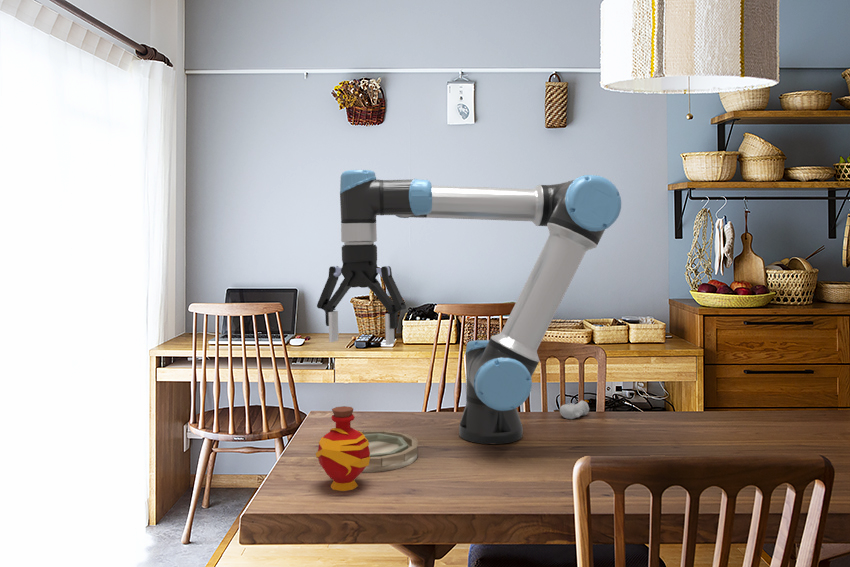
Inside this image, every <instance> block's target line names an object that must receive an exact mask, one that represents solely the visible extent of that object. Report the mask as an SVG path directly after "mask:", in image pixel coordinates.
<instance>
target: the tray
mask: <svg viewBox="0 0 850 567" xmlns="http://www.w3.org/2000/svg"><path fill="white" fill-rule="evenodd" d="M359 431H360V432H361V433H363V434H364V436H365V438H366V439H367V440H368V442H369V445H368V447H369V451H370V461H369V466H366V467H365V469H364V470H363V472H362V473H380V472H381V473H382V472H389V471H394V470H397V469H398V470H399V469H401V468H404V467H407V466H409V465H412V464H413V463H414V462H415V461H416V460H417V459H418V455H419V454H418V451H419V450H418V448H419V447H418V439H417V438H416V437H414V436H412V435H410V434H408V433H405V432H400V431H394V430H387V429H380V430H379V429H377V430H374V429H373V430H359Z"/></svg>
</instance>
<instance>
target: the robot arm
mask: <svg viewBox="0 0 850 567" xmlns="http://www.w3.org/2000/svg"><path fill="white" fill-rule="evenodd" d="M339 181H340V188H339V190H340V191H339V198H340V199H339V201H340V202H339V203H340V223H341V224H340V226H341V228H340V234H341V235H340V236H341V239H340V240H341V242H342V243H344V244H343V245H342V246H341V262H342V267H341V266H338V265H333V266H329V268H328V277H327V280H326V282H325V284H324V286H323V289H322V292H321V293H320V297H319V299H318V301H317V304H316V307H317V308H318V309H321V310H323V311H324V312H325V325H326V326H325V327H328V337H329V340H328V342H329V343H334V342H338V341H339V311H338V310H336V308H337V306H338V305H339V303H340V302H341V301H342V300H343V298H344V296H345V295H346V294H347V293H348V292H349V290H350V289H351V288H368V289H369V290H371V291H372V293H373V294H374V295H375V297H376V298H377V300H378V301H379V302H380V303H381V304H382V305H383V307H384V308H385V309H386V311H387V313H384V319H385V320H384V322H385V323H384V325H385V326H384V327H385V328H384V330H385V345H386V346H390V345H393V344H395V329H397V328H398V325H399V324H398V323H399V322H398V321H399V320H398V318H399V315H398V313H399V312H401V311H404V310H406V308H407V306H406V303H405V300H404V298H403V297H402V294H401V292H400V290H399V288H398V285H397V284H396V282H395V280H394V277H393V272H392V268H391V266H389V265H386V266H382V267H378V247H377V245H376V244H375V243H376V242H377V240H378V238H377V216H395V217H398V218H402V219H409V218H421V219H424V218H425V219H427V218H428V219H453V220H454V219H456V220H482V221H483V220H484V221H509V222H510V221H511V222H532V223H533V224H534V225H535V226H537V227H547V229H548V232H549V234H548V235H549V236H548V237H547V239H546V241H545V243H544V245H543V247H542V250H541V252H540V253H539V255H538V257H537V260H536V261H535V263H534V265H533V268H532V270H531V271H530V273H529V275H528V277H527V280H526V282H525V283H524V285H523V287H522V290H521V291H520V294H519V295H518V298H517V300H516V302H515V303H514V306H513V308H512V309H511V311H510V314H509V315H508V317H507V320H506V322H505V323H504V326H503V328H502V330H501V332H500V333H498V334H495V335H491V337H490V339H484V340H483V339H482V340H479V339H477V340H470V341H468V342H466V347H465V348H466V350H465V354H464V355H465V357H466V358H465V359H466V360H465V363H466V364H465V369H466V370H465V372H466V374H465V375H466V376H465V377H466V378H465V380H466V383H465V385H466V386H465V387H466V388H465V389H466V390H465V391H466V394H465V395H466V397H465V398H466V399H465V400H466V401H465V402H466V403H465V406H464V410H463V412H462V416H461V419H460V423H459V424H458V425H459V427H458V428H459V430H458V432H459V434H458V435H459V437H460V438H462V439H463V440H465V441H468V442H471V443H477V444H482V445H483V444H484V445H485V444H486V445H502V444H510V443H514V442H517V441H519V440H521V439H522V438H523V434H524V433H523V430H524V429H523V425H522V421H521V418H520V415H519V411H518V409H517V408H519V407H520V406H522V405H524V403H525V402H526V401H527V399H528V398H529V396H530V394H531V391H532V386H533V385H532V384H533V380H532V379H533V378H532V377H533V375H534V373H535V370H536V368H537V367H538V365H539V362H540V358H539V355H538V349H539V347H540V345H541V343H542V341H543V339H544V337H545V335H546V333H547V331H548V328H549V327H550V325H551V323H552V321H553V318H554V317H555V315H556V312H557V311H558V308H559V307H560V304H561V303H562V301H563V298H564V297H565V295H566V292H567V291H568V289H569V287H570V284H571V283H572V281H573V278H574V276H575V275H576V273H577V271H578V269H579V267H580V264H581V262H582V260H583V259H584V256H585V255H586V253H587V252H588V251H589V250H593V249H596V248H597V246H598V245H599V243H600V241H601V239H602V236H604V233H605V231H606V230H607V229H609V228H610V227H612V225H613V224H614V223H615V222H616V221H617V219H618V218H619V217H620V214H621V210H622V198H621V195H620V192H619V189H618V188H617V187H616V185H615V184H614V183H613V182H612V181H611V180H609V179H608V178H606V177H604V176H601V175H595V174H585V175H582V176H579V177H577V178H575V179H572V180H568V181H566V182H561V183H556V184H538V185H537V186H535V187H534V188H516V187H515V188H513V187H511V188H510V187H509V188H508V187H485V186H484V187H479V186H454V185H453V186H451V185H450V186H449V185H432V183H431V181H430V180H428V179H419V178H413V179H377V175H376V172H375V171H374V170H371V169H370V170H369V169H350V170H344V171H343V172H342V173H341V175H340V180H339ZM341 275H342V277H343V280H342V282H340V284H339V287H338V288H337V289H336V290H335V288H336V285H337V283H338V281H339V278H340V276H341ZM378 275H379V276H380V278H382V282H383V284H384V286H385V288H386V290H387V292H388V293H387V292H386V291H385V290H384V288H383V287H382V286H381V283H380V282H379V280H378V279H377V276H378ZM334 290H335V292H334ZM333 292H334V294H333Z"/></svg>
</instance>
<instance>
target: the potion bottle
mask: <svg viewBox="0 0 850 567" xmlns="http://www.w3.org/2000/svg"><path fill="white" fill-rule="evenodd" d="M331 411H332V414H333V415H331V421H333V423H335V427H332V428H331V429H329V431H328V432H327V433H326V434H325V435H324V436H322V437H321V438H320V439H319V442H318V449H317V451H316V452H315V457H316V458H317V459H318V462H319V465H320V467H322V469H323V471H324V472H325V473H326V474H327V476H328V478H330V479H332V480H333V481H332V483H331V484H330V488H331V490H333V491H339V492H346V491H351V490H354V489H356V488H357V487H359V485H358V484H357V482H356V481H355V479H357V478H358V477H359V476H360V475H361V474H362V473H364V472H363V470H364V469H365V467H366V466H369V461H370V451H369V447H368V445H369V442H368V440H367V439H366V438H365V436H364V434H363V433H361V432H360V431H361V430H357V429H355V428H353V427H351V422H353V421H354V420H355V415H354V414H353V413H354V407H352V406H336V407H334V408H331Z"/></svg>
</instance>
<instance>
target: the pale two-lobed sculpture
mask: <svg viewBox="0 0 850 567" xmlns="http://www.w3.org/2000/svg"><path fill="white" fill-rule="evenodd" d="M589 412H590V407H589V404H588V402H587V401H585V400H583V399H582V400H580V401H579V402H578V403H572V402H570V403H566V404H562V405H561V406H560V407H559V414H560V415H561V416H562V418H565V419H567V420H573V419H576V418H580V417H581V416H586V415H588V413H589Z"/></svg>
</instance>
